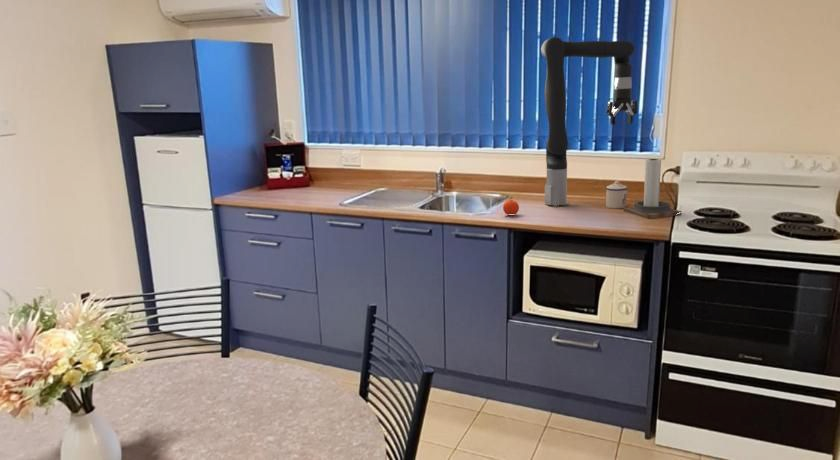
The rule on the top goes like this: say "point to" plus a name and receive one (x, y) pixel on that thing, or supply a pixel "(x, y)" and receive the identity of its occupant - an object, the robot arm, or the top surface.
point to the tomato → (510, 207)
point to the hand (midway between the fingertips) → (621, 124)
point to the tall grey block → (652, 182)
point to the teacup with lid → (616, 195)
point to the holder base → (651, 215)
